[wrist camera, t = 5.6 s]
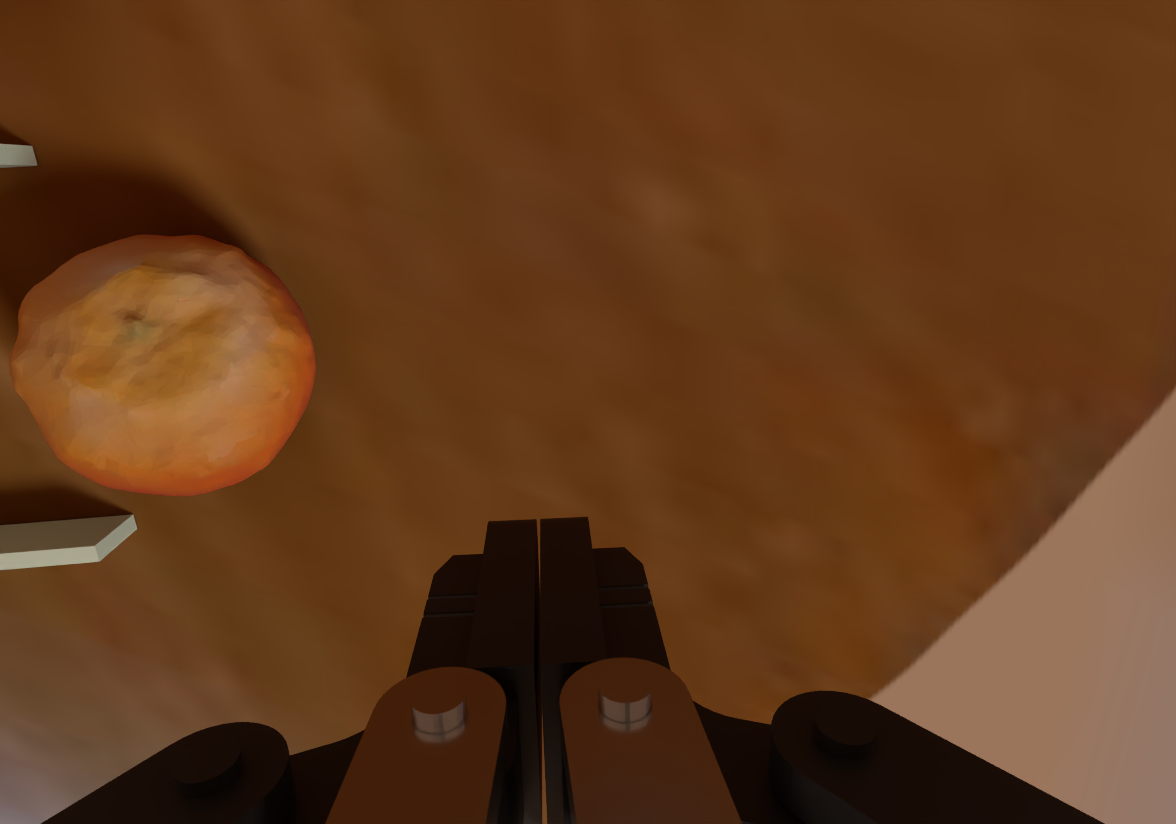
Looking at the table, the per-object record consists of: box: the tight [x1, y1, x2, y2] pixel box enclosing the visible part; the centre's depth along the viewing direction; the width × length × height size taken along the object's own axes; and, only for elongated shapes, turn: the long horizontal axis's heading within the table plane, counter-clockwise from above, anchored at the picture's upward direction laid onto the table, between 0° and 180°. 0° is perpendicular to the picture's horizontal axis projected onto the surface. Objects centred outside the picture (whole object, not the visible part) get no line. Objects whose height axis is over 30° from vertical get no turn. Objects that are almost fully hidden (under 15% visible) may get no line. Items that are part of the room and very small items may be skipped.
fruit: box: [9, 234, 316, 496], centre depth 23 cm, size 8×8×8 cm
